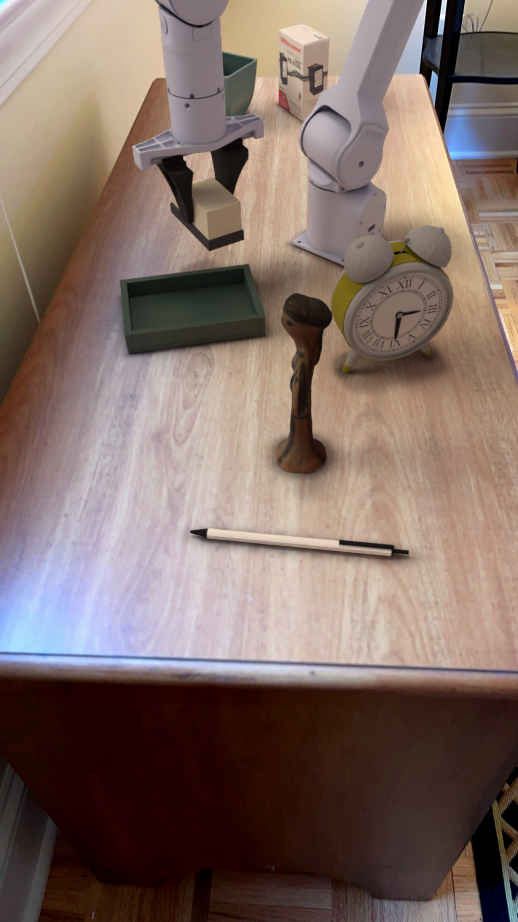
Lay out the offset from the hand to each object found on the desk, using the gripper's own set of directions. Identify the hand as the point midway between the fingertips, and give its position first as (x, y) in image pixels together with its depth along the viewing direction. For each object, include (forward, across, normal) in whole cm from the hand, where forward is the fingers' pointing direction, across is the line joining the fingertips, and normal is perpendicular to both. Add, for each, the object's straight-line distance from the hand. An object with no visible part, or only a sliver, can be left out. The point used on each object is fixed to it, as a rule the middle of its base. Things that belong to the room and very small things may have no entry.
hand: (206, 213), depth 79 cm
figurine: (+9, +6, +30) cm, 32 cm away
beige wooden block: (+2, 0, 0) cm, 2 cm away
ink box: (+9, -36, -36) cm, 51 cm away
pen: (+9, +12, +39) cm, 42 cm away
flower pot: (+9, -23, -39) cm, 46 cm away
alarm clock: (+9, -10, +22) cm, 26 cm away
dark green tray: (+9, +5, +5) cm, 12 cm away
